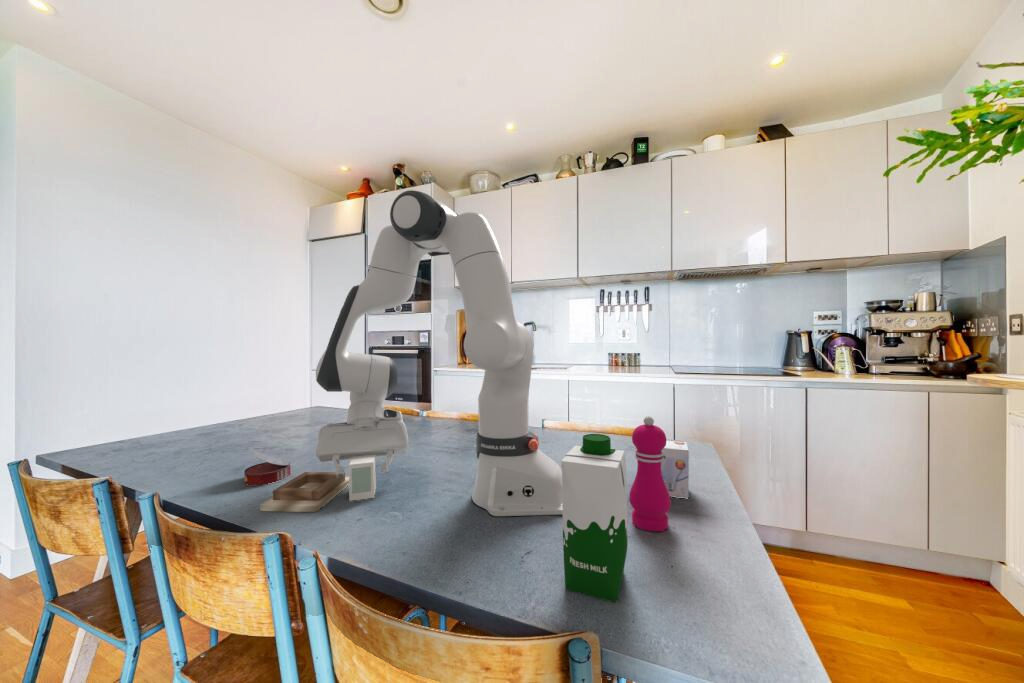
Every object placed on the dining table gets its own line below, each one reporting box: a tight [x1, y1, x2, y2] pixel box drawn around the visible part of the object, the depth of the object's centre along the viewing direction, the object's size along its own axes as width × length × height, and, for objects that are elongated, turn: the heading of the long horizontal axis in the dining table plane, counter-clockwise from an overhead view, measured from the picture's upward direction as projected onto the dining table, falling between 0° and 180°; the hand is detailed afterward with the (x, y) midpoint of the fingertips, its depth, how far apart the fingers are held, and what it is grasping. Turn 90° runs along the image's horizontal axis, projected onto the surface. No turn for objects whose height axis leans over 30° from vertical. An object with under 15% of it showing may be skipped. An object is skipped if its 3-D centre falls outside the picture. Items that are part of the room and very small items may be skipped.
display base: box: [259, 471, 349, 513], centre depth 83 cm, size 12×16×3 cm
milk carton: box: [561, 433, 629, 604], centre depth 53 cm, size 9×9×20 cm
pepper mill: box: [628, 416, 672, 532], centre depth 69 cm, size 7×7×20 cm
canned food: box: [243, 446, 291, 486], centre depth 94 cm, size 11×10×10 cm
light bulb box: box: [661, 440, 690, 498], centre depth 83 cm, size 11×7×11 cm, turn 68°
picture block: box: [348, 454, 377, 501], centre depth 84 cm, size 5×6×8 cm
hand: (362, 473), depth 83 cm, fingers open, 8 cm apart
